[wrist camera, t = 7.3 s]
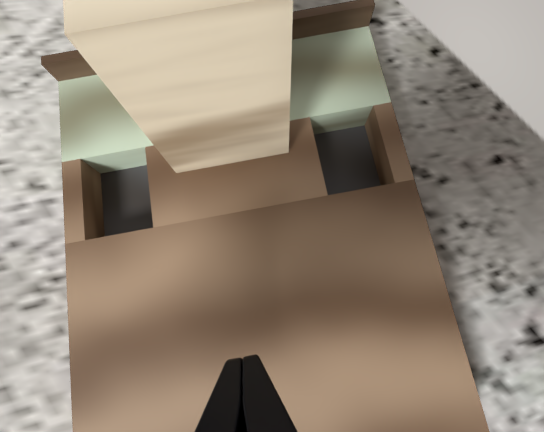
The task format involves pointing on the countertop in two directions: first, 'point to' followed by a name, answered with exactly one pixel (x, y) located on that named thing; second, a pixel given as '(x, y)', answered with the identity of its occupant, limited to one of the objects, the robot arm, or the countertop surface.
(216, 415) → the robot arm
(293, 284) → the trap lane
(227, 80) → the birch block
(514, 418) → the countertop surface
